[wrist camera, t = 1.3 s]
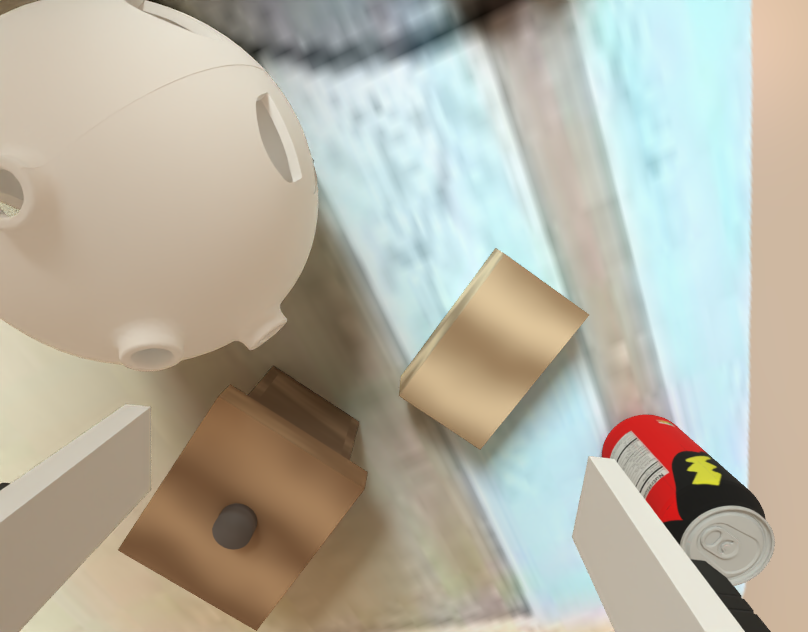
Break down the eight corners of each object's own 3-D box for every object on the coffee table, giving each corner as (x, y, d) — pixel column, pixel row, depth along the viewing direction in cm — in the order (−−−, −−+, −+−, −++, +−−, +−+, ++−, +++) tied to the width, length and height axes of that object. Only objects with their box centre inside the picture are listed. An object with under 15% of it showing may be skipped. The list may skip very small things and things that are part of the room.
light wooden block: (474, 425, 40) (480, 449, 36) (400, 376, 39) (398, 395, 36) (571, 302, 38) (589, 314, 34) (495, 247, 37) (504, 253, 33)
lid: (264, 607, 36) (250, 646, 33) (134, 530, 35) (106, 563, 32) (367, 471, 34) (362, 500, 30) (230, 384, 32) (210, 404, 29)
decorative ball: (403, 216, 37) (387, 238, 18) (236, 366, 40) (67, 524, 21) (201, -17, 34) (-83, -296, 15) (36, 165, 37) (-380, 130, 17)
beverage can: (642, 496, 41) (731, 614, 30) (580, 455, 41) (646, 559, 29) (695, 437, 40) (810, 536, 28) (632, 393, 39) (724, 477, 28)
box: (279, 530, 43) (253, 593, 36) (196, 479, 42) (154, 534, 35) (359, 421, 40) (347, 467, 34) (273, 365, 40) (243, 401, 33)
